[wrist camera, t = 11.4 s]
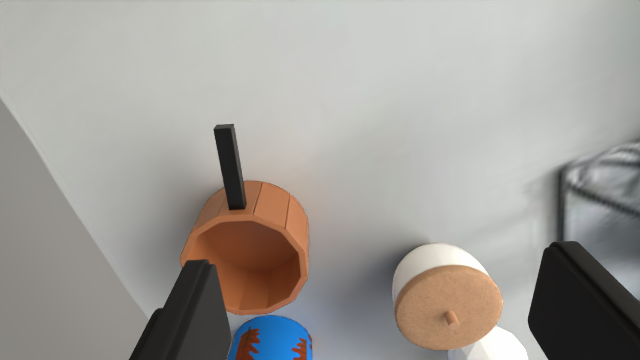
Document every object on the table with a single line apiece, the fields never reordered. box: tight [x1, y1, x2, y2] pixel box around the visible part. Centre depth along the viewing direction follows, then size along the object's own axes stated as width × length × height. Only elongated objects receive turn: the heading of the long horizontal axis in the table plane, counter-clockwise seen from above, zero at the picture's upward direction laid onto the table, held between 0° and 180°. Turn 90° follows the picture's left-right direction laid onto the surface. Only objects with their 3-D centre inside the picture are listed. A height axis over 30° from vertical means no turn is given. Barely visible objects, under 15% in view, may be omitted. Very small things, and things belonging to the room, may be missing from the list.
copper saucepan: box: [180, 124, 309, 315], centre depth 39 cm, size 20×12×7 cm, turn 4°
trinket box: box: [392, 243, 503, 350], centre depth 42 cm, size 11×11×9 cm
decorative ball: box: [448, 326, 528, 360], centre depth 48 cm, size 9×10×12 cm
